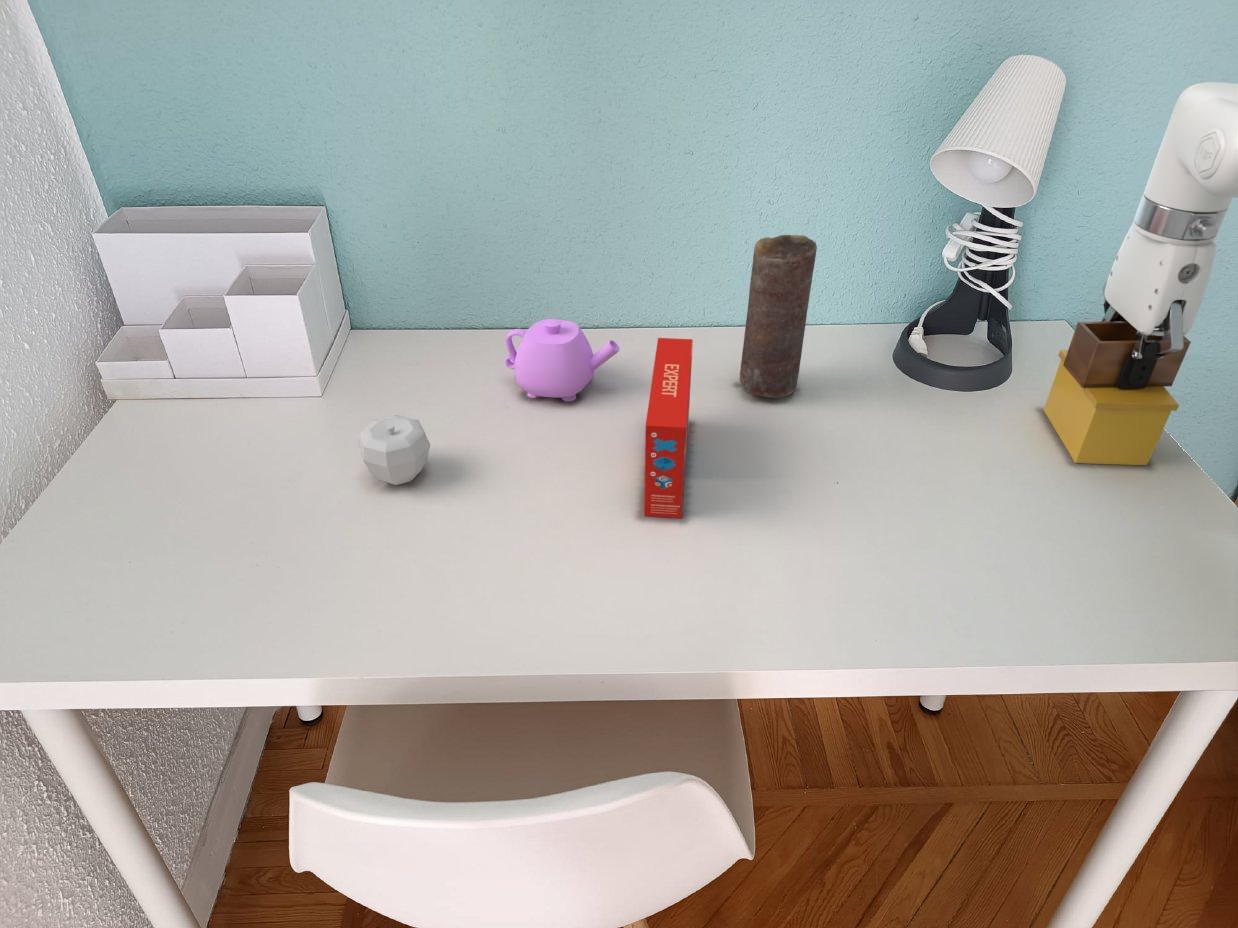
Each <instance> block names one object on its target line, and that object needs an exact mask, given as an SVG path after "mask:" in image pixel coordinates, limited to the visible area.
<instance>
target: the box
mask: <svg viewBox="0 0 1238 928" xmlns="http://www.w3.org/2000/svg"><path fill="white" fill-rule="evenodd" d="M1067 352H1068V349H1060V350H1059V352H1058V357H1059V359H1060V361H1059V364H1058V367H1057V370H1056V373H1055V377H1054V379H1053V382H1052V385H1051V388H1050V390H1049V394H1048V396H1047V399H1046V403H1045V406H1044V409H1043V412H1044V414H1045V415H1046V417H1047V418H1048V421H1049V422H1050V423H1051V426H1052V427H1053V430H1055V432H1056V433H1057V436H1058V437H1059V439H1060V440H1061V442H1062V444H1063V445H1064V447H1065V448H1066V450H1067V452H1068V454H1069V455H1070V457H1071V459H1072V460H1073V462H1074V463H1075V464H1089V465H1091V464H1092V465H1122V466H1123V465H1125V466H1148V465H1149V461H1151V458H1152V455H1153V453H1154V451H1155V449H1156V447H1157V444H1158V442H1159V439H1160V437H1161V435H1162V433H1163V431H1164V428H1165V426H1166V424H1167V422H1168V419H1169V417H1170V416H1171V413H1172V411H1173V412H1176V411H1177V410H1178V408H1179V406H1180V404H1179V403H1178V401H1177V400H1176V399H1175V398H1174V397H1173V395H1171V393H1170V392H1169V391H1168V390H1167V388H1166V387H1145V388H1143V389H1119V388H1118V387H1110V388H1082V387H1081V386H1080V384H1079V383H1078V382H1077V381H1076V380H1075V379H1074V377H1073V376H1072V375H1071V374H1070V373H1069V372H1068V371H1067V369H1066V368H1065V367H1064V366H1063V364H1064V361H1065V358H1066V355H1067Z"/></svg>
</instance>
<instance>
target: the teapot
mask: <svg viewBox="0 0 1238 928" xmlns="http://www.w3.org/2000/svg"><path fill="white" fill-rule="evenodd" d="M506 334H507V335H506V336H505V346H506V349H507V351H508V354H509V355H507V356H506V357H505V360H504V364H505V366H506V367H507V368H508V369H510V370H514V378H515V380H516V382H517V384H518V386H520V387H521V388H522V389H523V390H524V391H526V392H527V394H526V396H527V397H528V398H532V399H536V398H537V399H538V398H541V397H544V398H561V400H562V401H564V402H573V401H575V400H576V399H577V394H578V393H580V392H581V391H582V390H584V388H586V386H588V384H589V383H590V381H591V380H592V379H593V376H594V374H595V371H596V370H597V369H599V368H600V367H601V366H602V365H603V364H605V363H606V362H607V361H608V360H610V359H611V358H612V357H614V356H615V355H616V354H618V353H619V352H620V350H621V348H620V347H619V344H617V342H615V341H614V340H609V341H608V342H607V343H606V344H604V345H603V346H602V347H601V348H600V349H599V350H597V351H596V352H595V353H594V352H593V349H592V346H591V344H590V342H589V340H588V338H587V336H586V335H585V333H584V332H583V330H582V328H581V327H580V326H579V325H578V324H577V323H576V322H573V321H571V320H564V319H558V318H549V319H542V320H539V321H536V322H534V323H533V324H532V325H531V326H530V327H528V329H527V330H525V329H522V328H514V329H512V330H510V331H509V332H508V333H506ZM515 336H518V337H522V340H521V341H520V343H519V346H518V348H517V350H516V348H515V346H514V343H513V337H515Z"/></svg>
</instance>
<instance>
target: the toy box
mask: <svg viewBox="0 0 1238 928" xmlns="http://www.w3.org/2000/svg"><path fill="white" fill-rule="evenodd" d="M693 343H694V339H693V338H675V337H674V338H673V337H672V338H671V337H657V341H656V350H655V357H654V363H653V364H654V365H653V370H652V377H651V384H650V392H649V399H648V406H647V412H646V418H645V419H646V420H645V433H644V434H645V435H644V437H645V439H644V440H645V441H644V498H643V499H644V507H643V508H644V509H643V511H644V512H643V516H644V517H656V518H671V519H682V518H683V509H684V494H685V479H686V467H687V454H688V453H687V451H688V438H689V425H690V423H689V422H690V404H691V385H692V368H693V367H692V364H693V348H694V347H693V345H694V344H693Z"/></svg>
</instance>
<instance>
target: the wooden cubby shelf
mask: <svg viewBox="0 0 1238 928" xmlns="http://www.w3.org/2000/svg"><path fill="white" fill-rule="evenodd" d="M1154 329H1159V326H1155V328H1154ZM1136 331H1137V329H1136V328H1134V327H1133V326H1132V325H1131V324H1130V323H1129V322H1128V321H1102V320H1099V321H1077V323H1076V326H1075V329H1074V332H1073V336H1072V338H1071V340H1070V344H1069V347H1068V349H1067V350H1068V352H1067V355H1066V358H1065V361H1064V364H1063V366H1064V367H1065V368H1066V369H1067V371H1068V372H1069V373H1070V374H1071V375H1072V376H1073V377H1074V379H1075V380H1076V381H1077V382H1078V383H1079V384H1080V386H1081V387H1082V388H1110V387H1117V386H1116V382H1117V379H1118V377H1119V374H1120V372H1121V369H1122V367H1123V364H1124V362H1125V359H1126V356H1127V355H1132V351H1133V346H1134V341H1135V336H1136ZM1155 338H1156V336H1147V340H1146V345H1145V346H1147V345H1149V344H1151V343H1155ZM1183 344H1184V345H1183V349H1182V350H1180V351H1176V352H1172V353H1169V354H1167V355H1165V356H1163V358H1162V359H1158V360H1157V362H1156V365H1155V367H1154V370H1153V372H1152V375H1151V377H1150V379H1149V382H1148V384H1147V386H1146V387H1165V388H1166V387H1168V388H1169V387H1172V386H1173V384H1174V382H1175V380H1176V378H1177V376H1178V373H1179V371H1180V369H1181V366H1182V363H1183V361H1184V359H1185V357H1186V355H1187V352H1188V350H1189V347H1190V345H1191V344H1192V341H1191V340H1189V339H1188V338H1187V337H1186V336H1185V335H1183Z"/></svg>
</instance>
